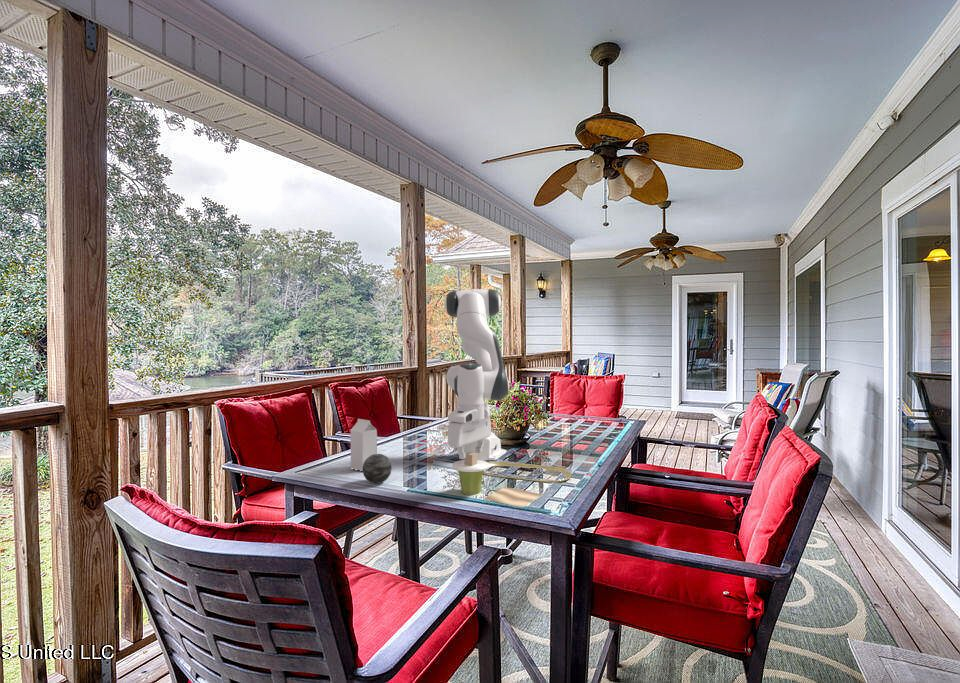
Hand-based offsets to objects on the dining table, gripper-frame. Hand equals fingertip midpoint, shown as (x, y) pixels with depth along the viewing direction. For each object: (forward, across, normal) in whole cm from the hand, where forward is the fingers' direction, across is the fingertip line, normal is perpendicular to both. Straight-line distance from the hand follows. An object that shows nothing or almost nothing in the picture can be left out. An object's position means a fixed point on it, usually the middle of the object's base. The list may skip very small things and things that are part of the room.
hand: (470, 455), depth 158 cm
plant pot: (+12, 0, 0) cm, 13 cm away
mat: (+12, -3, +14) cm, 19 cm away
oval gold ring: (+13, -29, +4) cm, 32 cm away
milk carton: (+12, -2, -51) cm, 53 cm away
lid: (+4, 0, 0) cm, 4 cm away
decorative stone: (+12, +8, -34) cm, 37 cm away
